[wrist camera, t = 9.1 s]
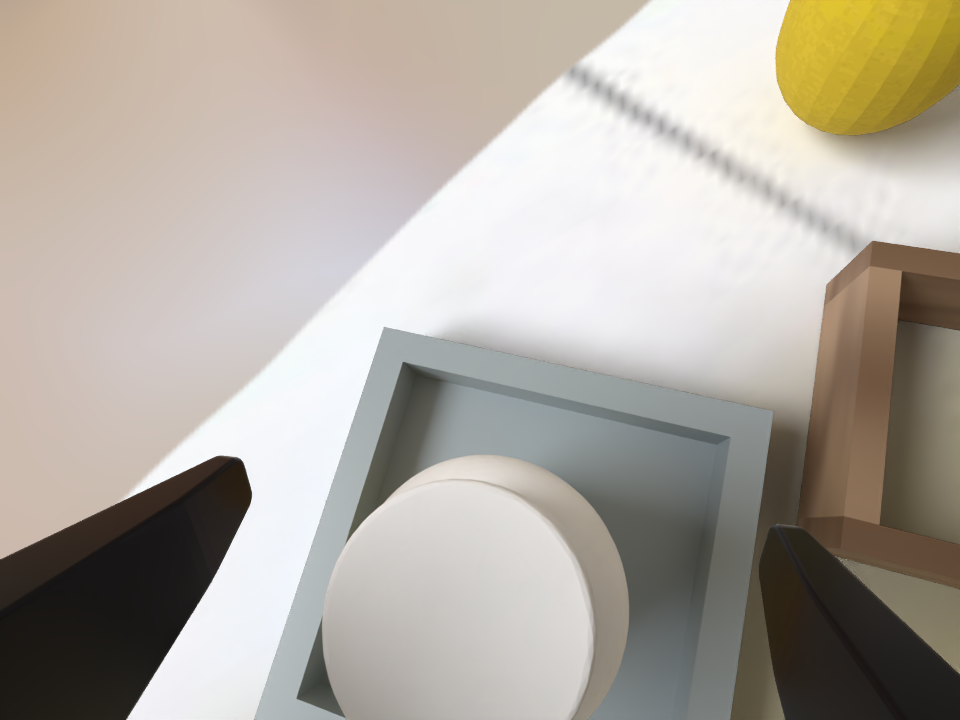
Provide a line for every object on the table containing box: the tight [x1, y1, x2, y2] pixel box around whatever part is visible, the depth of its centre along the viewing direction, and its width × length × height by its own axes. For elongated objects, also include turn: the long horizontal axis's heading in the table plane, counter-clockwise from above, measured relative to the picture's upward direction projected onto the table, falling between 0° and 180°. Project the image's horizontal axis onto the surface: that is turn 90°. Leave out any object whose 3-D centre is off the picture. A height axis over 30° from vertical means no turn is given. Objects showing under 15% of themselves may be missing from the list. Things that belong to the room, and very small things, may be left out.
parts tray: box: [254, 327, 774, 720], centre depth 17 cm, size 12×12×2 cm
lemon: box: [776, 0, 960, 135], centre depth 17 cm, size 6×6×8 cm
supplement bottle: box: [322, 455, 629, 720], centre depth 12 cm, size 5×5×10 cm
